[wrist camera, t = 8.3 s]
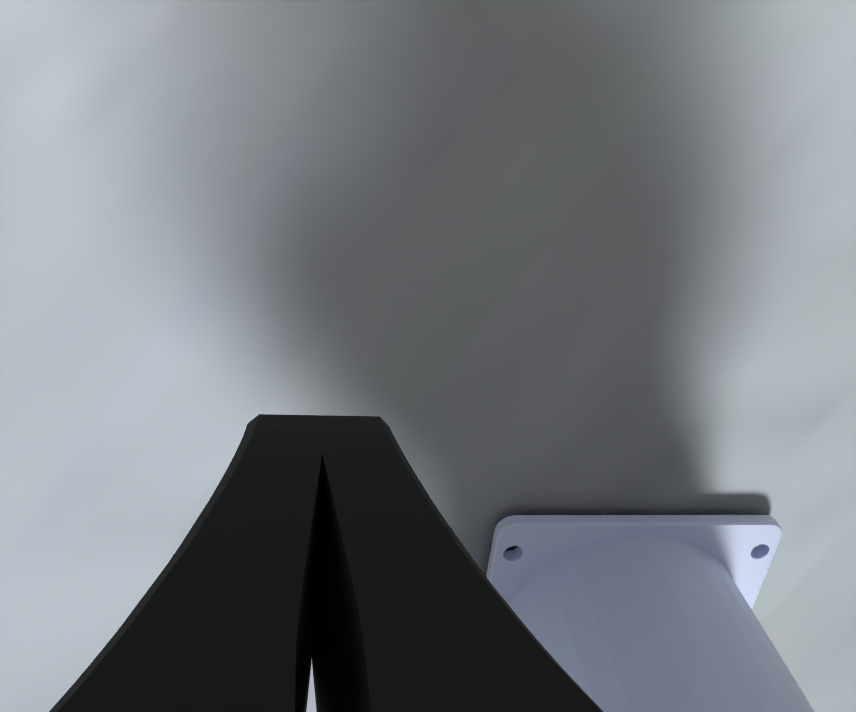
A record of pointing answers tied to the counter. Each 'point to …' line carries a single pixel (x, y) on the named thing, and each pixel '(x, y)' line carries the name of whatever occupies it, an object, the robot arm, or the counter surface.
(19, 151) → the counter surface
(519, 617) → the robot arm
